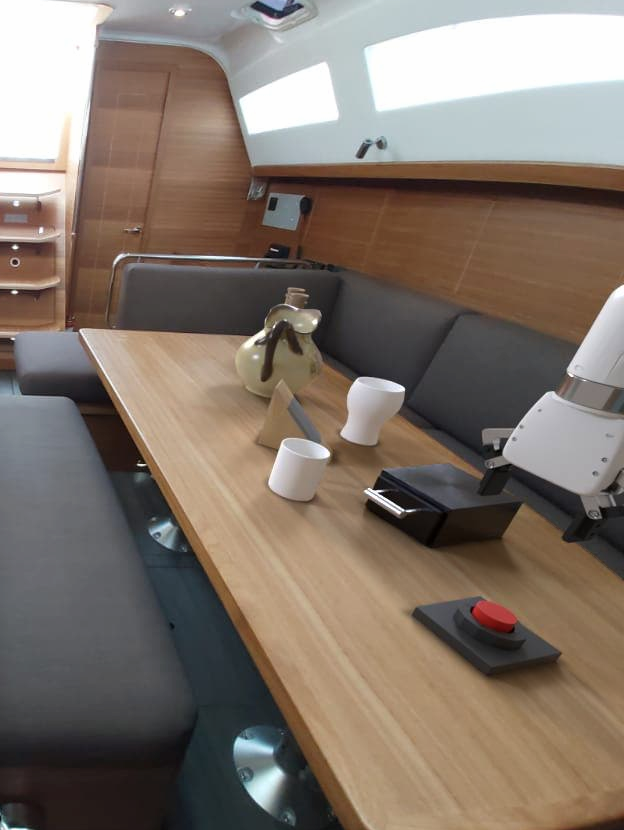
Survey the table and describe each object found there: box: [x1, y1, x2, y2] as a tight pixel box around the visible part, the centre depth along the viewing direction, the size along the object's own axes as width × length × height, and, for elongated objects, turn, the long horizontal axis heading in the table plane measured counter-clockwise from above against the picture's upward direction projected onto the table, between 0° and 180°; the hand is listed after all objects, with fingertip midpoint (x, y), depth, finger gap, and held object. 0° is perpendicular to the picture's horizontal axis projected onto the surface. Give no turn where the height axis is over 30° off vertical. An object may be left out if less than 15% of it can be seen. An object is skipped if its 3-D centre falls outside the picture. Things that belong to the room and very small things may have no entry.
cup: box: [339, 376, 406, 446], centre depth 121 cm, size 11×11×15 cm
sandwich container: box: [257, 379, 333, 465], centre depth 115 cm, size 9×15×15 cm, turn 52°
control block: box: [411, 595, 563, 677], centre depth 69 cm, size 12×10×4 cm
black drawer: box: [363, 475, 446, 546], centre depth 91 cm, size 20×12×7 cm, turn 102°
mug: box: [268, 438, 330, 502], centre depth 101 cm, size 12×8×10 cm
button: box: [472, 600, 518, 633], centre depth 67 cm, size 4×4×2 cm
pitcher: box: [234, 303, 323, 399], centre depth 145 cm, size 22×24×25 cm
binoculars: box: [284, 287, 310, 309], centre depth 172 cm, size 21×10×25 cm, turn 155°
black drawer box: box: [379, 462, 525, 549], centre depth 92 cm, size 16×13×9 cm
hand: (527, 515), depth 64 cm, fingers open, 9 cm apart
